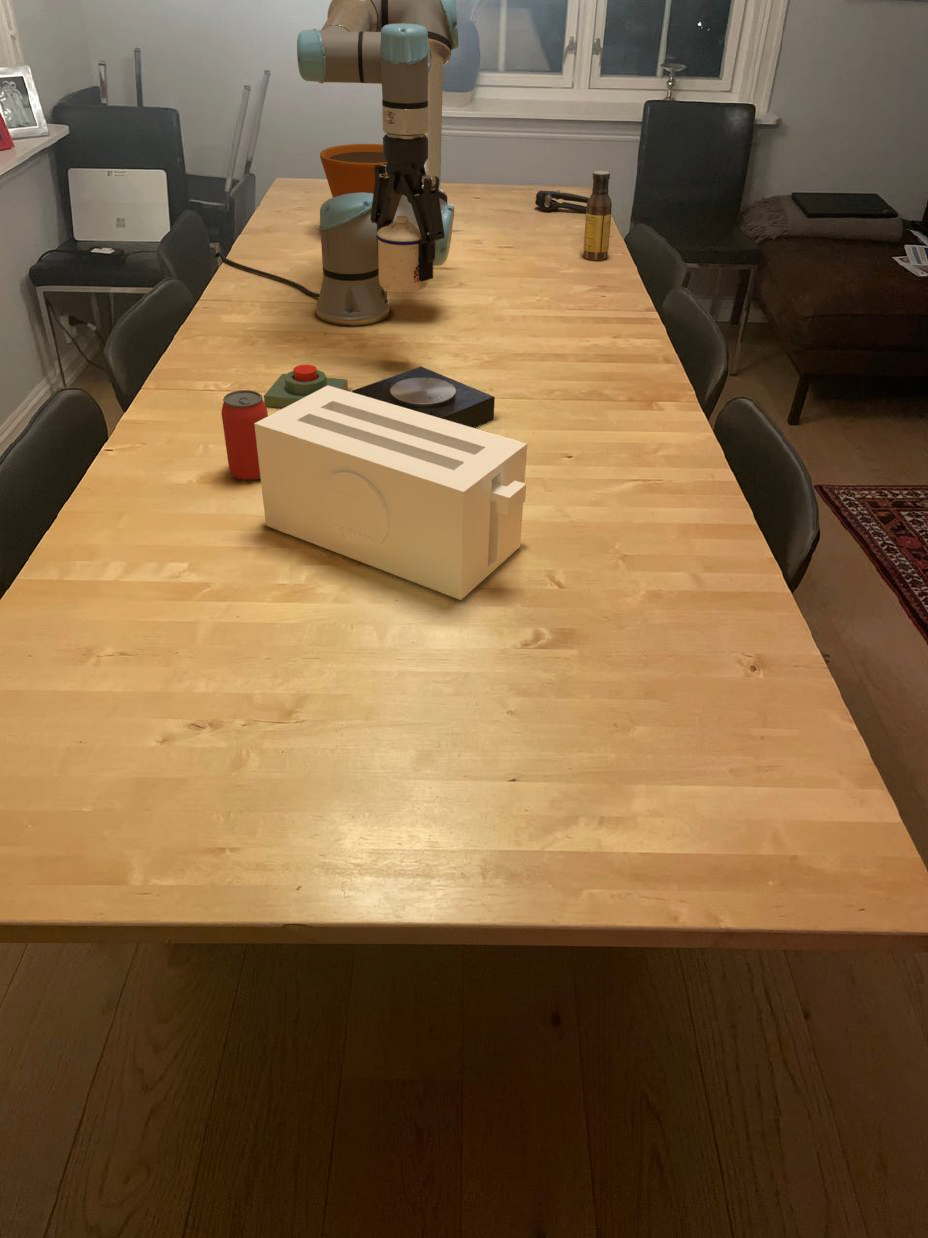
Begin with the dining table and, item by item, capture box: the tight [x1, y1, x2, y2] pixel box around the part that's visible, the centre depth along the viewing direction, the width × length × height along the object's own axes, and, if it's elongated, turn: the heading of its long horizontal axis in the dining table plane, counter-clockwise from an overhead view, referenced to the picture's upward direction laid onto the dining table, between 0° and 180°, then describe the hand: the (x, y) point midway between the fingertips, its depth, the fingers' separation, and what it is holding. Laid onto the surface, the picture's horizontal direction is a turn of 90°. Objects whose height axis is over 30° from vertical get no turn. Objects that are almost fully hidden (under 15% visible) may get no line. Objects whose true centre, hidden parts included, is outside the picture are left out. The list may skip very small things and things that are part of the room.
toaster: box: [254, 385, 528, 601], centre depth 126 cm, size 35×16×15 cm, turn 58°
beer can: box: [220, 389, 269, 481], centre depth 142 cm, size 7×7×12 cm
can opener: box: [534, 189, 590, 214], centre depth 276 cm, size 18×7×6 cm, turn 80°
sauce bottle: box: [583, 170, 613, 261], centre depth 235 cm, size 6×6×20 cm
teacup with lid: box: [376, 216, 428, 293], centre depth 170 cm, size 12×9×12 cm
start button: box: [292, 364, 318, 382], centre depth 165 cm, size 4×4×2 cm
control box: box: [263, 369, 349, 409], centre depth 167 cm, size 12×10×4 cm
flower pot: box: [319, 143, 388, 198], centre depth 246 cm, size 24×24×20 cm
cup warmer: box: [351, 366, 496, 428], centre depth 162 cm, size 18×16×5 cm
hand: (407, 272), depth 172 cm, fingers closed on teacup with lid, 9 cm apart
